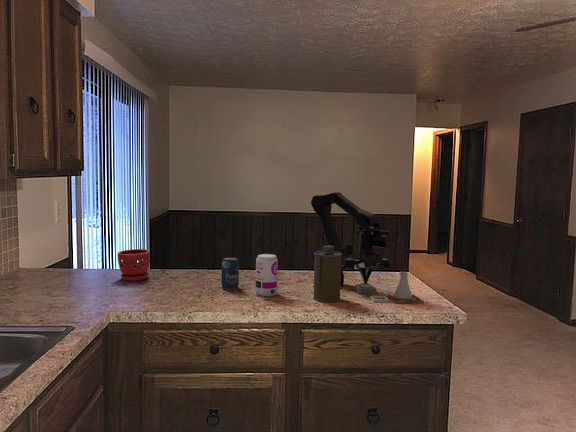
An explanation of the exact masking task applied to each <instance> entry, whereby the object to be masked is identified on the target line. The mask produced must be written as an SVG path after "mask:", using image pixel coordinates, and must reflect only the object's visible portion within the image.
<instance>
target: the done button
mask: <svg viewBox="0 0 576 432" xmlns="http://www.w3.org/2000/svg"><path fill="white" fill-rule="evenodd" d="M370 284H371V283H369V282H367V284H364V282H360V287H361V288H370Z"/></svg>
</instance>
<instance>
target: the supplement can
mask: <svg viewBox="0 0 576 432" xmlns="http://www.w3.org/2000/svg"><path fill="white" fill-rule="evenodd" d="M278 261H279V260H278V257H277V255H276V254H271V253H262V254H258V255H257V257H256V259H255V262H256V263H255V293H256V294H257V296H261V297H272V296H275V295H276V294H277V293H278V267H279V266H278V264H279V262H278Z"/></svg>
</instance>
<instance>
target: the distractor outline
mask: <svg viewBox="0 0 576 432" xmlns="http://www.w3.org/2000/svg"><path fill="white" fill-rule="evenodd" d="M369 299H370V300H371V301H372V302H373V303H390V302H391V299H390V298H389V297H388V296H386V295H370V296H369Z"/></svg>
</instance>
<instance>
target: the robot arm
mask: <svg viewBox="0 0 576 432" xmlns="http://www.w3.org/2000/svg"><path fill="white" fill-rule="evenodd" d="M310 204H311V207H312V209H313V211H314V212H315V213H316V215H317V216H318V217H319V219H320V223H321V226H322V229H323V232H324V236H325V240H326V242H327V246H329V245H330V246H335V248H334V252H340V253H342V257H341V286H342V287H344V284H345V274H344V270H346V269H347V268H354V267H355V268H356V269H358V271H359V273H360V276H361V278H362V281H363V282H362V283H364V284H367V283H369V282H368V281H369V279H370V277H371V274H372V273H373V271H374V270H377V267H378V266H381V267H383V268H391V267H392V263H391V262H392V261H391V260H390V259H388V258H385V257H383V255H382V254H380V253H379V254H376V251H375V248H381V249H388V250H389V249H391V248H392V246H393V243H394V239H393V238H394V237H393V235H392V234H391V230H384V229H383V228H382V227H381V224H380V223H379V221H378V217H377V216H376V214H374V213H372V212H371V211H368V210H364V209H362V208H360V206H357V204H355V203H354V202H353V201H352V200H350V199H349V198H347V197H346V196H344V195H343V194H342V193H341V192H340V191H339V192H337V191H336V192H334V191H333V192H331V193H328V194H318V195H317V194H315V195H314V196H313V197H312V198H311V200H310ZM333 204H335V205H337V206H338V207H339V208H340V209H342V210H343V211H344V212H345V213H347V214H348V215H349V216H351V217H352V218H353V220H354V223H355V224H356V225H357V226H358V229H357V230H355V231H354V233H355V234H359V247H358V250H359V252H358V253H359V254H358V260H357V259H356V260H355V259H354V258H353V257H350V254H349V253H348V248H347V247H343V246H342V245H341V243H340V240H339V236H338V233H337V229H336V227H335V224H334V221H333V220H334V219H333V218H332V213H331V212H332V205H333Z"/></svg>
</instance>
